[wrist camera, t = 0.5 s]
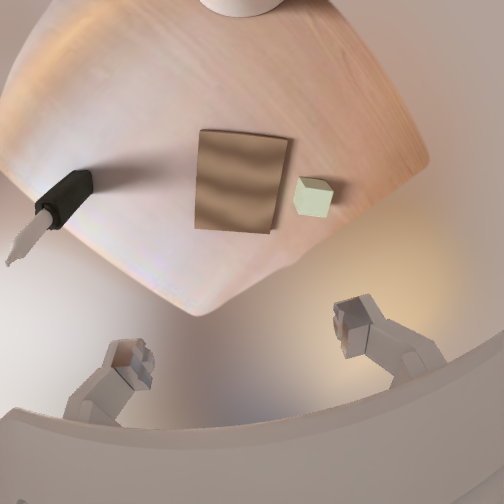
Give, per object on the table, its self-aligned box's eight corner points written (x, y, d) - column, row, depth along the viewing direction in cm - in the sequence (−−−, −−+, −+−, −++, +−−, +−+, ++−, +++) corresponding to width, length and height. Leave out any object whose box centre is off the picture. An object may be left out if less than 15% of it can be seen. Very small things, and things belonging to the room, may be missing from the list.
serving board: (200, 129, 40) (199, 131, 39) (286, 138, 42) (287, 140, 41) (195, 224, 50) (194, 228, 49) (268, 229, 52) (269, 234, 51)
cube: (298, 176, 46) (305, 187, 42) (324, 180, 47) (333, 191, 43) (293, 201, 49) (298, 214, 45) (318, 204, 50) (326, 217, 46)
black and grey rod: (73, 194, 44) (1, 278, 24) (69, 170, 41) (-12, 247, 21) (93, 194, 44) (24, 283, 24) (91, 169, 41) (10, 250, 21)
